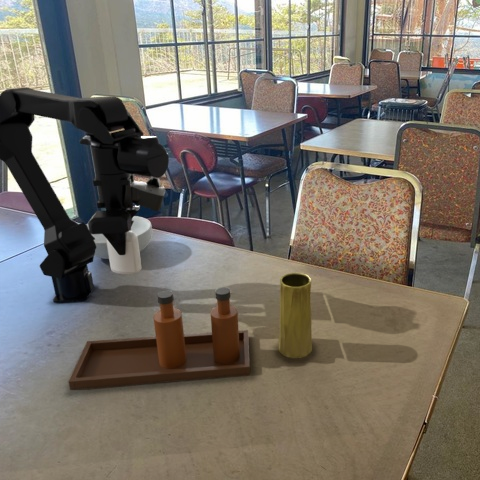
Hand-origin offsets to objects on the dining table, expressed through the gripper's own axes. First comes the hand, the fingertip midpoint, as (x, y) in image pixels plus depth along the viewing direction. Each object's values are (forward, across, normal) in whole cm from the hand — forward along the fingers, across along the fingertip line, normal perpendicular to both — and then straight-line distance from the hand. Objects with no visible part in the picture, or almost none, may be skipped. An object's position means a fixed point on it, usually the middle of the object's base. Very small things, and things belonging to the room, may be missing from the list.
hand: (124, 250), depth 92 cm
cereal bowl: (+13, +28, +7) cm, 31 cm away
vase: (+13, -19, -30) cm, 38 cm away
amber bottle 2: (+12, -19, -18) cm, 29 cm away
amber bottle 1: (+12, -19, -9) cm, 25 cm away
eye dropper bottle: (+5, 0, 0) cm, 5 cm away
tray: (+13, -19, -8) cm, 24 cm away
